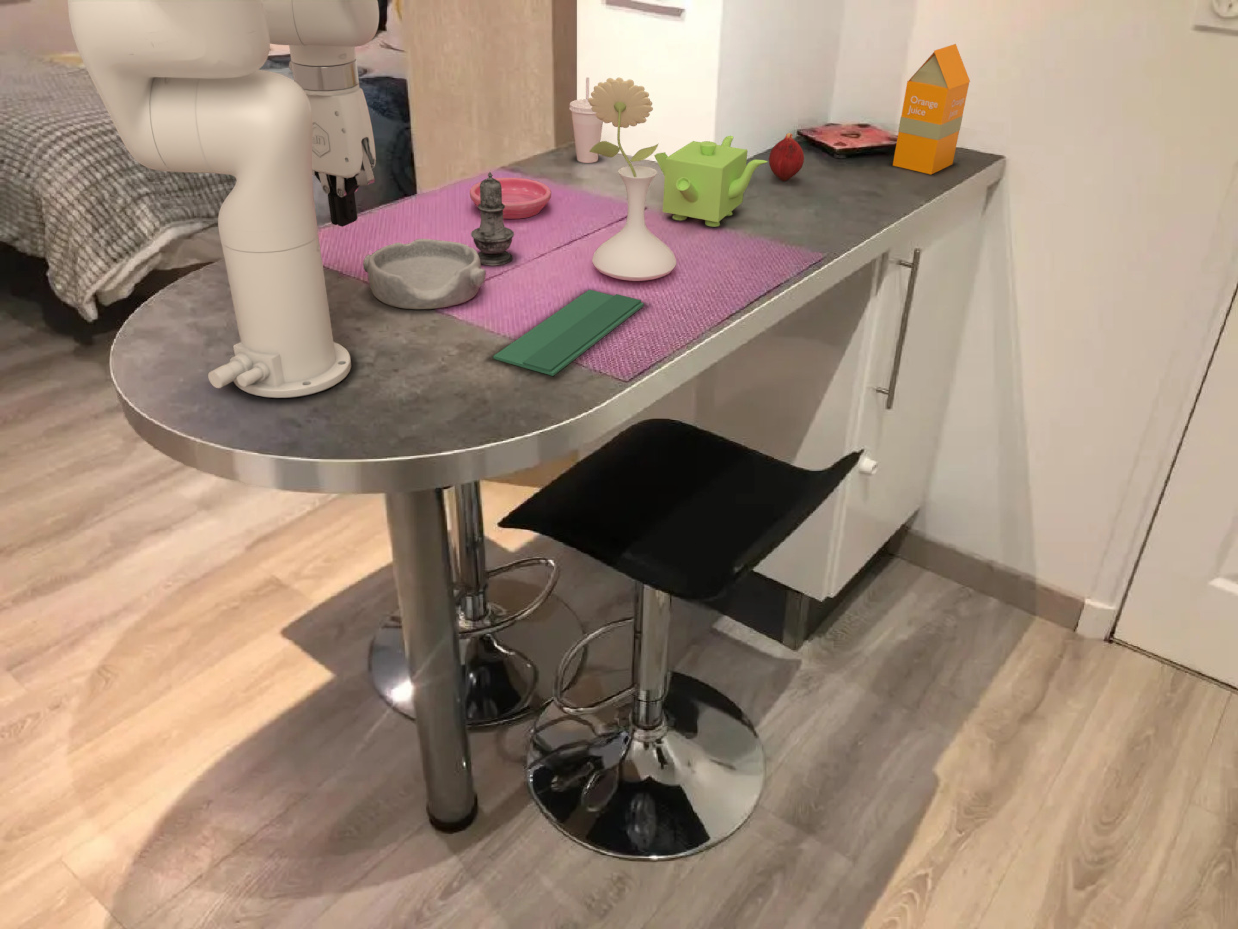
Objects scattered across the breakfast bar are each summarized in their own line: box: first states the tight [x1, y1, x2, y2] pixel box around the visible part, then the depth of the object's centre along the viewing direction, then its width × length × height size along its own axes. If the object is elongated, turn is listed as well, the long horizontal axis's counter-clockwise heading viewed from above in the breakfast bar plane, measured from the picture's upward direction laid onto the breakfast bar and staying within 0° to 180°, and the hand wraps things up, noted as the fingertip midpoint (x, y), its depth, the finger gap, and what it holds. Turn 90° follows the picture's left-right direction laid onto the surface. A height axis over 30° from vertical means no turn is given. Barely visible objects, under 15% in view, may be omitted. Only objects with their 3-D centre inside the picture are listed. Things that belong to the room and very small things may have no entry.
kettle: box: [654, 135, 769, 227], centre depth 155 cm, size 15×14×11 cm
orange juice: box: [892, 43, 971, 175], centre depth 178 cm, size 8×9×20 cm
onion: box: [768, 132, 805, 182], centre depth 171 cm, size 6×6×8 cm
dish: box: [362, 238, 487, 310], centre depth 130 cm, size 14×14×5 cm
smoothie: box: [569, 77, 604, 164], centre depth 177 cm, size 6×6×14 cm
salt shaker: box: [470, 171, 515, 266], centre depth 138 cm, size 6×6×12 cm
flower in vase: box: [588, 77, 677, 282], centre depth 132 cm, size 13×11×25 cm
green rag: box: [492, 289, 645, 377], centre depth 122 cm, size 22×8×1 cm, turn 152°
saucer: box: [469, 177, 552, 220], centre depth 157 cm, size 12×12×3 cm
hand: (344, 222), depth 132 cm, fingers closed
